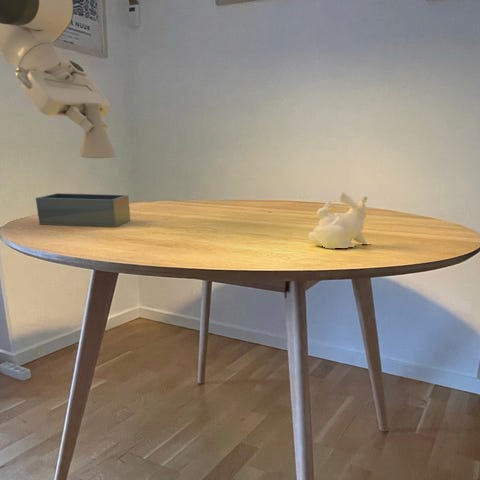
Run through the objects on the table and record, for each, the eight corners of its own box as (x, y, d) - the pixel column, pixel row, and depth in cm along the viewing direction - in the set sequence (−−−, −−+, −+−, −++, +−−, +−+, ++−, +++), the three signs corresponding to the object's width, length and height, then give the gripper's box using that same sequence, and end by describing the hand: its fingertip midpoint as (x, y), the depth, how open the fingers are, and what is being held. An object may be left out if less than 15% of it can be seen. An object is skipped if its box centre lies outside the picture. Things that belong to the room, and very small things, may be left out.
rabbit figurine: (370, 243, 87) (377, 189, 83) (381, 252, 80) (388, 194, 76) (306, 242, 87) (309, 188, 83) (310, 251, 80) (314, 193, 76)
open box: (39, 224, 101) (35, 197, 99) (59, 217, 110) (56, 193, 108) (115, 227, 99) (113, 200, 97) (130, 220, 108) (128, 195, 106)
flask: (76, 158, 90) (70, 101, 86) (80, 157, 97) (75, 103, 93) (115, 159, 91) (110, 102, 88) (116, 157, 98) (112, 104, 94)
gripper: (18, 52, 80) (74, 114, 81) (87, 67, 98) (132, 118, 99) (1, 81, 83) (55, 141, 84) (71, 91, 101) (115, 140, 102)
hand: (97, 129), depth 92 cm, fingers closed on flask, 3 cm apart
